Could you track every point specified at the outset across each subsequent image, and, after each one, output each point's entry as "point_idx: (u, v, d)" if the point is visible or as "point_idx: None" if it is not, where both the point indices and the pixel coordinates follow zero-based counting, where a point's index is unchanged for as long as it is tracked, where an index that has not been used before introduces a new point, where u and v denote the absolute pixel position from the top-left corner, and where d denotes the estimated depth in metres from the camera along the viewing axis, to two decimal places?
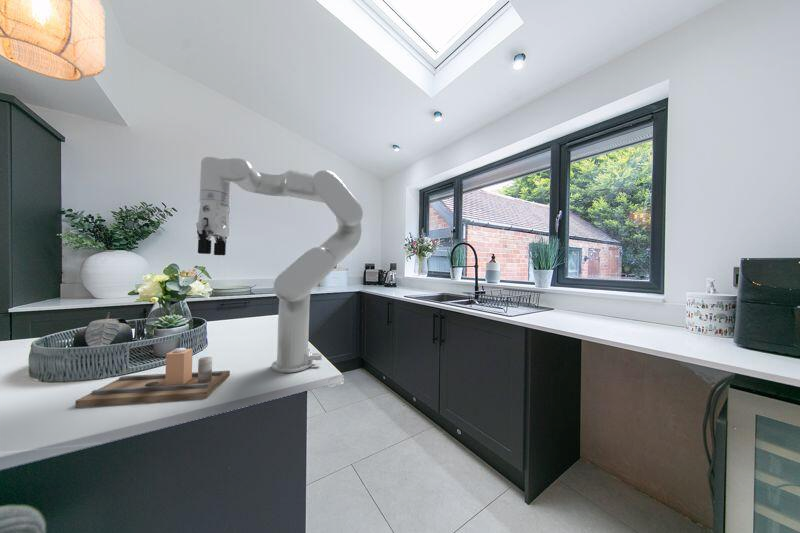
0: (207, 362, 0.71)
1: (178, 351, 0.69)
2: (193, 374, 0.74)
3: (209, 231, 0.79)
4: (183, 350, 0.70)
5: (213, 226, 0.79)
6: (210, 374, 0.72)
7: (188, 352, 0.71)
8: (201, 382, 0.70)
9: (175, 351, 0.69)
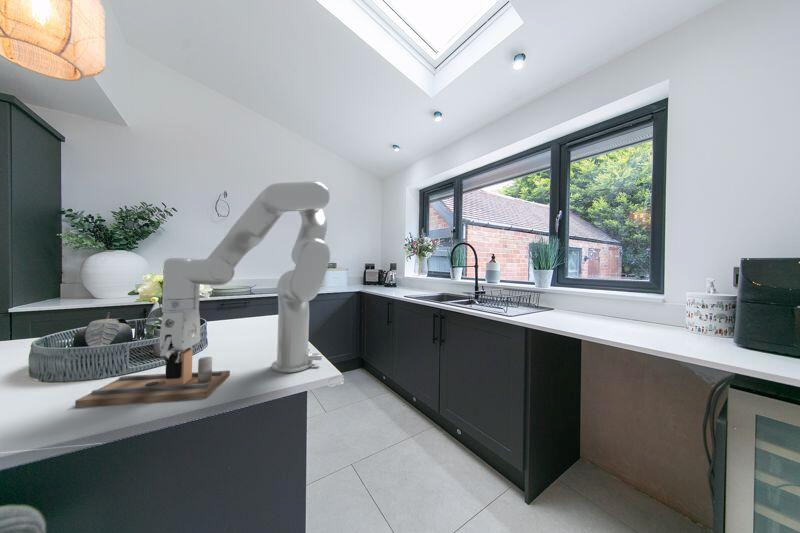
0: (207, 362, 0.71)
1: None
2: (193, 374, 0.74)
3: (176, 352, 0.68)
4: None
5: (178, 344, 0.66)
6: (210, 374, 0.72)
7: (188, 352, 0.71)
8: (201, 382, 0.70)
9: None
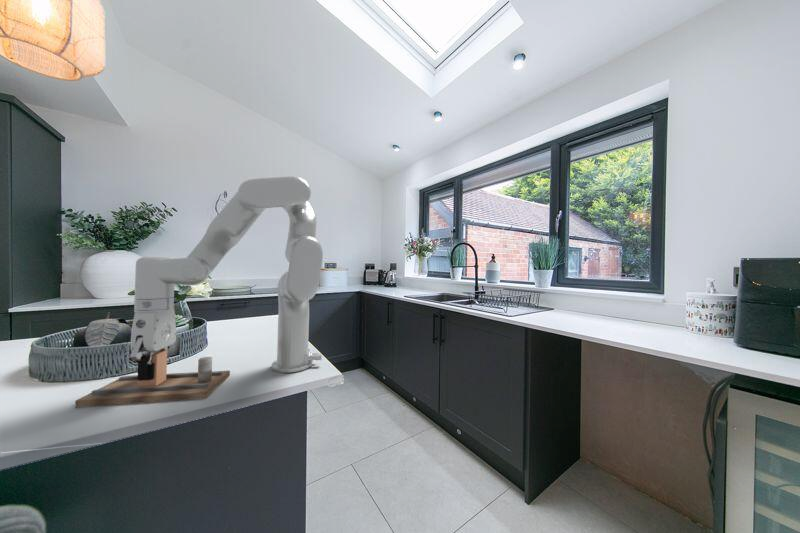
0: (207, 362, 0.71)
1: None
2: (193, 374, 0.74)
3: (149, 353, 0.66)
4: None
5: (149, 345, 0.65)
6: (210, 374, 0.72)
7: (162, 353, 0.70)
8: (201, 382, 0.70)
9: None
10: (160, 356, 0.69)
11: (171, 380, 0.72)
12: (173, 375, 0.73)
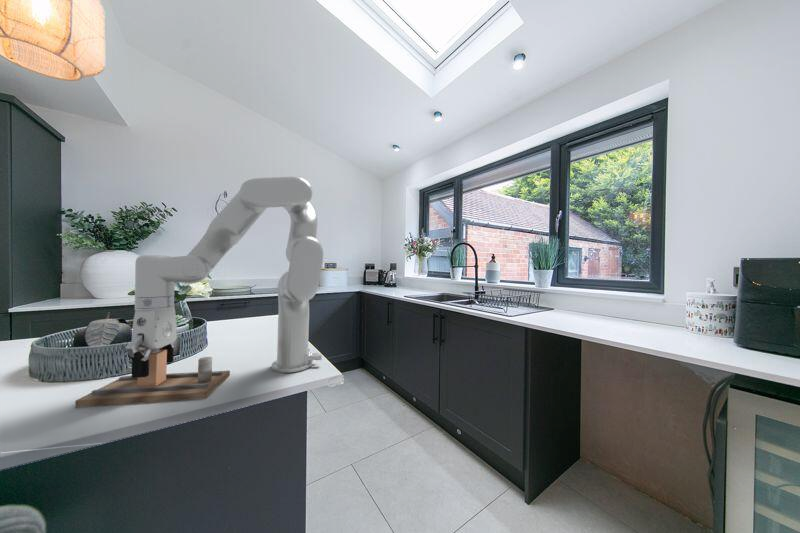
0: (207, 362, 0.71)
1: (151, 352, 0.68)
2: (193, 374, 0.74)
3: (146, 349, 0.65)
4: (156, 351, 0.69)
5: (151, 343, 0.65)
6: (210, 374, 0.72)
7: (162, 353, 0.70)
8: (201, 382, 0.70)
9: None
10: (160, 356, 0.69)
11: (171, 380, 0.72)
12: (173, 375, 0.73)
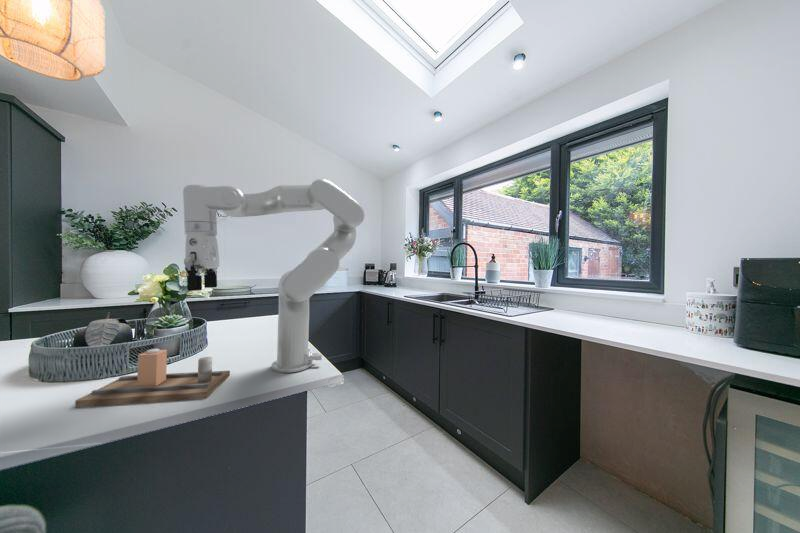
0: (207, 362, 0.71)
1: (151, 352, 0.68)
2: (193, 374, 0.74)
3: (198, 266, 0.73)
4: (156, 351, 0.69)
5: (202, 260, 0.73)
6: (210, 374, 0.72)
7: (162, 353, 0.70)
8: (201, 382, 0.70)
9: (148, 352, 0.68)
10: (160, 356, 0.69)
11: (171, 380, 0.72)
12: (173, 375, 0.73)
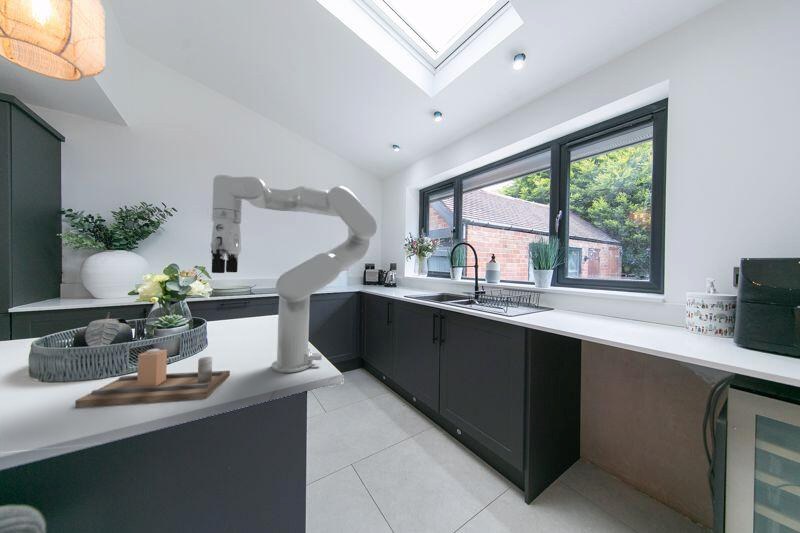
0: (207, 362, 0.71)
1: (151, 352, 0.68)
2: (193, 374, 0.74)
3: (223, 250, 0.78)
4: (156, 351, 0.69)
5: (227, 245, 0.78)
6: (210, 374, 0.72)
7: (162, 353, 0.70)
8: (201, 382, 0.70)
9: (148, 352, 0.68)
10: (160, 356, 0.69)
11: (171, 380, 0.72)
12: (173, 375, 0.73)
